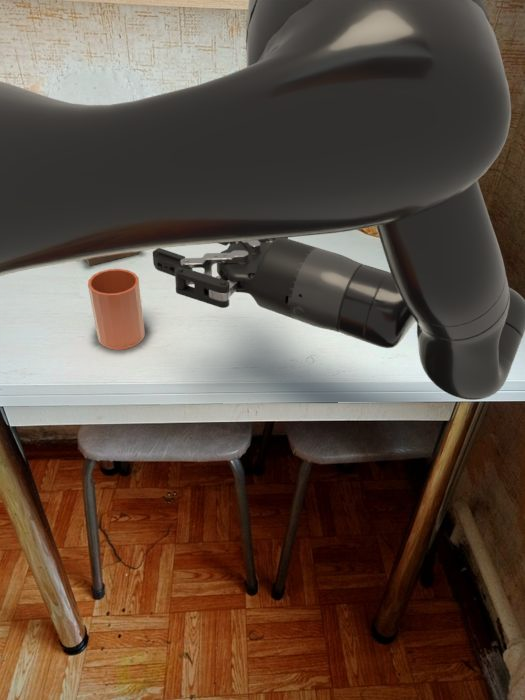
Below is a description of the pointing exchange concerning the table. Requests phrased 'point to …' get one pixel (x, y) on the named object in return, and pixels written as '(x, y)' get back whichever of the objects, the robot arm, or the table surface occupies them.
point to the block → (109, 258)
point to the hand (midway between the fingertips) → (179, 241)
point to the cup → (117, 308)
